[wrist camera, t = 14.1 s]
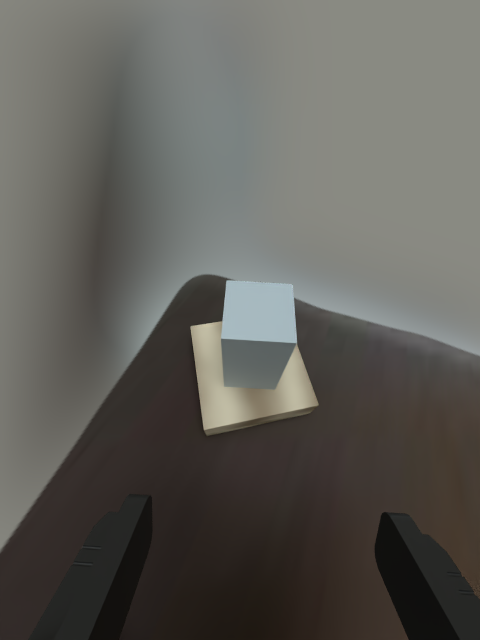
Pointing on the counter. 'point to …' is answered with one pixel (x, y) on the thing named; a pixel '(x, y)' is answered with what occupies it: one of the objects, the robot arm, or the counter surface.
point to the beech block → (245, 389)
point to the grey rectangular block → (257, 333)
